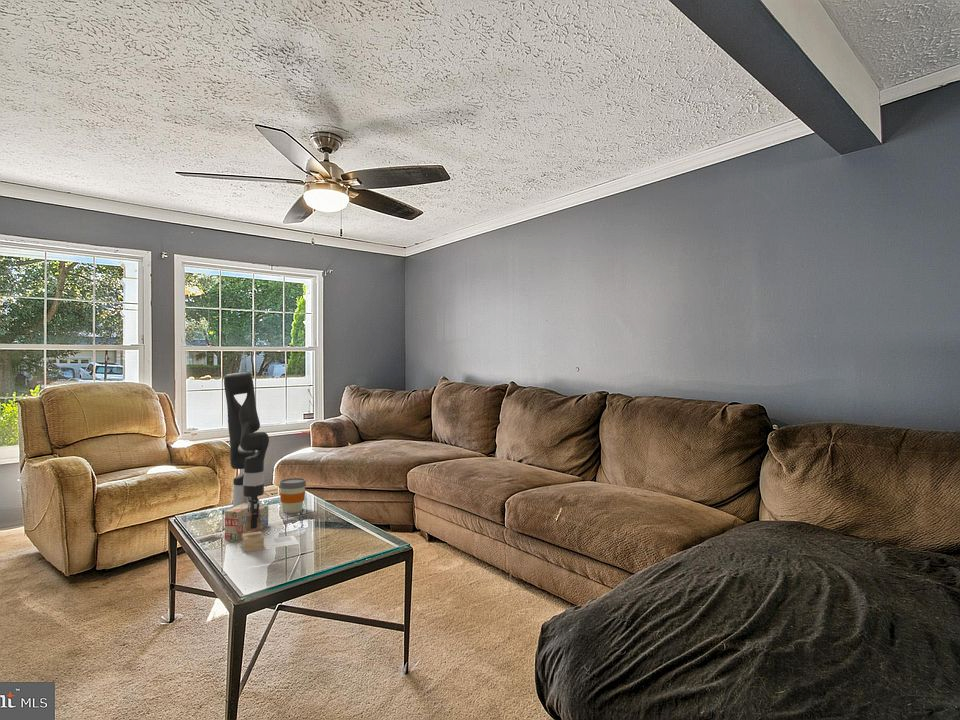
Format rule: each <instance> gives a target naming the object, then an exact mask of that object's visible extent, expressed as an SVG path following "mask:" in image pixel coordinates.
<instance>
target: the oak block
mask: <svg viewBox="0 0 960 720" xmlns="http://www.w3.org/2000/svg"><path fill="white" fill-rule="evenodd" d="M241 539H242V540H241V543H242V548H243V551H244V552H247V553H249V552H248V551H253V552H256V551H255V550H259V551H262V550H261V549H264V540H265V535H264V533H263V532H262V530H261V531H260V530H259V531H254V532H252V533H246V534H242V538H241Z"/></svg>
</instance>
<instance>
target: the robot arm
mask: <svg viewBox="0 0 960 720" xmlns="http://www.w3.org/2000/svg"><path fill="white" fill-rule="evenodd" d="M223 386H224V393H225V401H226V405H227V424H228V425H227V427H228V435H229V448H230V449H229V455H230V456H229V462H230V467H231V469H234V470H244V473H241V474H239V475H237V476H235V477H234V478H233V481H232V482H233V483H232V484H233V485H232V493H233V494H232V508H234V507H236V506H238V505H241V504H243V503H247V504H248V512H249V513H251V517H250V518H251V529H253V528H257V518H258V517H259V516H258V515H259V505H260V499H259V497H260V496H262V495H264V494H265V473H264V469H265V465H264V463H265V457H266V454H267V453H266V452H267V450H268V447H269V443H270V437H269V435H268V433H267V432H266V431H265V432H264V431H259V430H260V428H261V423H260V418H259V416H258V411H257V403H256V394H255V392H256V391H255V386H254V380H253V376H252V375H251V373H250V372H248V371H243V372H242V371H241V372H235V373H228V374H225V376H224V379H223ZM244 394H246V397H245V400H244V402H243V403H242V404H240V403H239V402H238V399H236V397H235V396H237V395H244ZM257 431H258V432H257ZM239 447H240V448H239ZM253 513H256V515H253Z"/></svg>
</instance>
